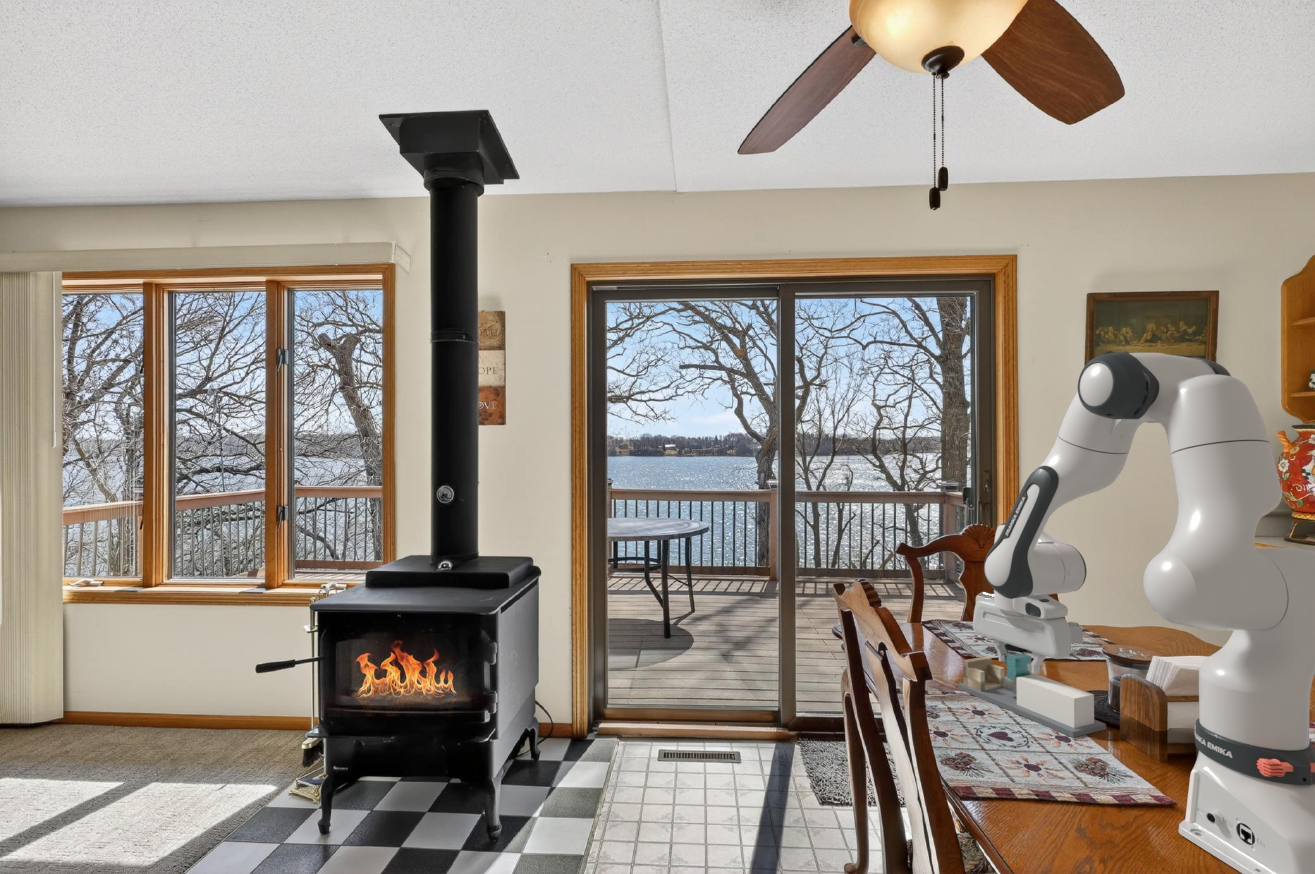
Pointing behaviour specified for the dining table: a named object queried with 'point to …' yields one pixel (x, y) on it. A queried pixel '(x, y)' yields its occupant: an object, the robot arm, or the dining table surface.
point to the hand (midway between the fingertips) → (1018, 667)
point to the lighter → (1075, 632)
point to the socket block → (982, 674)
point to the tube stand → (1046, 704)
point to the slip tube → (1015, 670)
